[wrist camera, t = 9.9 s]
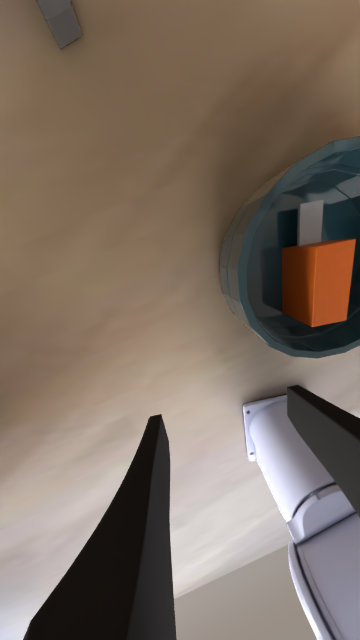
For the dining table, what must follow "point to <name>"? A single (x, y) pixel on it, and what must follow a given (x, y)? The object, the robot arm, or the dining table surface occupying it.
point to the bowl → (281, 231)
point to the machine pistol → (61, 20)
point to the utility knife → (316, 272)
